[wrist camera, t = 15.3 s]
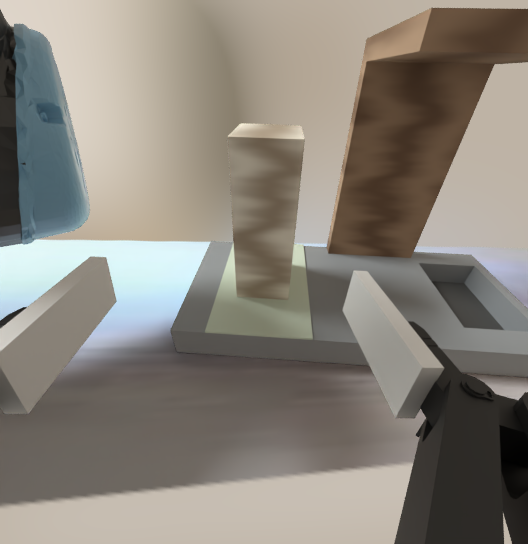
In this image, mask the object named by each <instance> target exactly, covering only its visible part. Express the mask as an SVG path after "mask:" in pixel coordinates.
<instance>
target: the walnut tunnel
mask: <svg viewBox="0 0 528 544" xmlns="http://www.w3.org/2000/svg"><path fill="white" fill-rule="evenodd" d="M522 62H528V9H479V8H478V9H477V8H431V9H429V10H426V11H424V12H422V13H420V14H418V15H416V16H414V17H412V18H410V19H407V20H405V21H403V22H401V23H399V24H397V25H395V26H393V27H391V28H389V29H387V30H384V31H382V32H380V33H378V34H376V35H374V36H372V37H370V38H368V39H367V40H366V46H365V51H364V56H363V61H362V66H361V71H360V77H359V82H358V87H357V92H356V97H355V103H354V108H353V113H352V118H351V123H350V129H349V134H348V139H347V144H346V150H345V155H344V160H343V165H342V170H341V176H340V181H339V186H338V191H337V197H336V202H335V207H334V213H333V217H332V223H331V228H330V233H329V238H328V243H327V251H328V254H345V255H363V256H382V257H401V258H411V256H412V254H413V252H414V249H415V247H416V245H417V243H418V240H419V238H420V236H421V233H422V231H423V229H424V226H425V224H426V222H427V219H428V217H429V215H430V212H431V210H432V208H433V205H434V203H435V201H436V198H437V196H438V194H439V192H440V189H441V187H442V185H443V182H444V180H445V177H446V175H447V173H448V171H449V168H450V166H451V164H452V161H453V159H454V157H455V154H456V152H457V150H458V147H459V145H460V143H461V141H462V138H463V136H464V134H465V131H466V129H467V127H468V124H469V122H470V120H471V117H472V115H473V113H474V110H475V108H476V106H477V103H478V101H479V99H480V96H481V94H482V92H483V90H484V87H485V85H486V82H487V80H488V78H489V76H490V73H491V71H492V68H493V66H494V64H505V63H522Z"/></svg>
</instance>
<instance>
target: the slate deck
mask: <svg viewBox="0 0 528 544" xmlns="http://www.w3.org/2000/svg"><path fill="white" fill-rule="evenodd" d="M354 270H355V271H367V272H368V273H369V274H370V275H371V277H372V278H373V279H374V280H375V282H376V283H377V284H378V285H379V287H380V288H381V289H382V290H383V292H384V293H385V294H386V295H387V297H388V298H389V299H390V300H391V302H392V303H393V304H394V305H395V307H396V308H397V309H398V310H399V312H400V313H401V314H402V316H403V317H404V318H405V319H406V321H414V322H415V323H416V324H418V325H419V326H420V327H422V328H423V329H425V331H426V332H427V333H428V334H429V335H430V337H431V338H432V340H434V341H435V342H436V344H437V345H438V347H440V348H441V349H442V351H443V352H444V353H445V354H446V355H447V357H448V358H449V359H450V360H451V361H452V362H453V364H454V365H455V366H456V367H457V368H458V369H459V371H460V372H462V373H476V374H490V375H504V376H517V377H528V309H527V308H526V307H525V306H524V305H523V304H522V303H521V302H520V301H519V300H518V299H517V298H516V297H515V296H514V295H513V294H512V293H511V292H509V291H508V290H507V289H506V288H505V287H504V286H503V285H502V284H501V283H500V282H499V281H498V280H497V279H496V278H495V277H494V276H493V275H492V274H491V273H490V272H489V271H488V270H487V269H486V268H485V267H484V266H482V265H481V264H480V263H479V262H478V261H477V260H476V259H475V258H474V257H473V256H472V255H464V254H445V253H426V252H413V254H412V256H411V258H401V257H382V256H363V255H345V254H328V251H327V247H312V246H304V245H299V244H294V249H293V259H292V268H291V278H290V288H289V297H288V300H281V299H265V298H249V297H237V292H236V275H235V258H234V242H217V241H211V243H210V245H209V247H208V249H207V251H206V254H205V256H204V258H203V260H202V262H201V265H200V267H199V269H198V271H197V273H196V275H195V278H194V280H193V282H192V284H191V286H190V289H189V291H188V293H187V295H186V297H185V299H184V302H183V304H182V306H181V308H180V310H179V312H178V315H177V317H176V319H175V321H174V323H173V326H172V328H171V330H170V331H171V334H172V338H173V341H174V344H175V348H176V351H177V352H184V353H198V354H211V355H225V356H239V357H253V358H267V359H281V360H295V361H309V362H323V363H337V364H351V365H364V366H369V364H368V361H367V359H366V357H365V355H364V353H363V351H362V349H361V347H360V345H359V343H358V341H357V339H356V337H355V335H354V333H353V331H352V329H351V327H350V325H349V323H348V321H347V319H346V317H345V315H344V313H343V311H342V310H343V307H344V303H345V300H346V296H347V293H348V289H349V285H350V282H351V278H352V275H353V271H354Z"/></svg>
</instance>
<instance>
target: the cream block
mask: <svg viewBox="0 0 528 544" xmlns="http://www.w3.org/2000/svg"><path fill="white" fill-rule="evenodd" d="M304 142H305V138H304V135H303V131H302V128H301V126H300V125H272V124H240V125H239V126H238V127H237V128H236V129H235V130H234V131H233V132H232V133H231V134H230V135H229V136H228V155H229V172H230V190H231V207H232V224H233V241H234V258H235V275H236V292H237V297H249V298H265V299H281V300H288V297H289V288H290V278H291V268H292V259H293V249H294V239H295V229H296V220H297V210H298V200H299V191H300V181H301V171H302V161H303V152H304Z"/></svg>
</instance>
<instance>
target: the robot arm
mask: <svg viewBox="0 0 528 544" xmlns="http://www.w3.org/2000/svg"><path fill="white" fill-rule="evenodd" d="M89 212H90V205H89V198H88V192H87V187H86V182H85V178H84V173H83V168H82V163H81V159H80V155H79V151H78V146H77V142H76V138H75V134H74V130H73V125H72V121H71V117H70V113H69V109H68V105H67V101H66V97H65V94H64V90H63V86H62V82H61V78H60V75H59V72H58V68H57V65H56V63H55V60H54V57H53V53H52V48H51V45H50V43H49V41H48V40H47V38H46V37H45V36H44V35H43V34H41V33H40V32H37V31H35V30H31V29H29V28H27V27H26V26H25V25H24V24H14V27H11V26H10V25H9V24H8V22H7V21H6V20H5V18H4V16H3V14H2V12H1V10H0V247H3V246H9V245H15V244H21V243H22V244H28V243H32V242H33V241H34V240H35V239H39V238H44V237H48V236H53V235H57V234H61V233H66V232H70V231H74V230H75V229H77V228H79V227H81V226H82V225H83V224H84V223H85V221H86V220H87V219H88V216H89ZM115 303H116V297H115V293H114V288H113V284H112V280H111V276H110V272H109V267H108V263H107V259H106V257H90V258H88V259H87V260H86V261H85V262H83V263H82V264H81V265H80V266H78V267H77V268H76V269H75V270H73V271H72V272H71V273H70V274H68V275H67V276H66V277H65V278H63V279H62V280H61V281H59V282H58V283H57V284H56V285H54V286H53V287H52V288H51V289H49V290H48V291H47V292H46V293H44V294H43V295H42V296H41V297H39V298H38V299H37V300H36V301H34V302H33V303H32V304H31V305H29V306H28V307H23V308H21V309H19V310H17V311H15V312H13V313H11V314H9V315H7V316H6V317H5V318H3V319H2V320H1V321H0V408H1V410H2V411H3V413H4V414H29V413H30V411H31V410H32V409H33V407H34V406H35V405H36V404H37V402H38V401H39V400H40V398H41V397H42V396H43V395H44V393H45V392H46V391H47V390H48V388H49V387H50V386H51V384H52V383H53V382H54V381H55V379H56V378H57V377H58V375H59V374H60V373H61V372H62V370H63V369H64V368H65V367H66V365H67V364H68V363H69V361H70V360H71V359H72V358H73V356H74V355H75V354H76V352H77V351H78V350H79V349H80V347H81V346H82V345H83V344H84V342H85V341H86V340H87V338H88V337H89V336H90V335H91V333H92V332H93V331H94V329H95V328H96V327H97V326H98V324H99V323H100V322H101V321H102V319H103V318H104V317H105V315H106V314H107V313H108V312H109V310H110V309H111V308H112V306H113V305H114V304H115ZM342 311H343V313H344V315H345V317H346V319H347V321H348V323H349V325H350V327H351V329H352V331H353V333H354V335H355V337H356V339H357V341H358V343H359V345H360V347H361V349H362V351H363V353H364V355H365V357H366V359H367V361H368V364H369V366H370V368H371V370H372V372H373V374H374V376H375V378H376V380H377V382H378V384H379V386H380V388H381V390H382V392H383V394H384V396H385V398H386V400H387V402H388V404H389V406H390V408H391V410H392V412H393V414H394V417H395V418H415V417H416V415H417V413H418V412H419V410H420V408H421V410H422V411H423V413H424V415H425V416H426V419H425V421H424V423H423V424H422V426H421V427H420V429H419V431H418V432H417V434H416V436H417V437H419V436H420V438H419V442H418V447H417V451H416V455H415V459H414V463H413V468H412V472H411V476H410V481H409V485H408V489H407V493H406V497H405V501H404V506H403V510H402V514H401V518H400V523H399V526H398V531H397V535H396V539H395V543H394V544H504V533H503V532H504V531H503V513H504V517H505V520H506V524H507V527H508V530H509V534H510V537H511V541H512V544H528V392H527V393H524V395H523V396H522V397H521V398H520V399H519V400H514V399H511V398H507V397H504V396H500V395H496V394H495V393H494V392H493V391H492V389H491V388H490V387H488V386H487V385H486V384H485V383H483V382H482V381H480V380H478V379H477V378H475V377H472V376H469V375H467V374H462V373H461V372H460V371H459V369H458V368H457V367H456V366H455V365H454V364H453V362H452V361H451V360H450V359H449V358H448V357H447V355H446V354H445V353H444V352H443V351H442V349H441V348H440V347H438V345H437V344H436V342H435V341H434V340H432V338H431V337H430V335H429V334H428V333H427V332H426V331H425V329H423V328H422V327H420V326H419V325H418V324H416V323H415V322H414V321H406V319H405V318H404V317H403V316H402V314H401V313H400V312H399V310H398V309H397V308H396V307H395V305H394V304H393V303H392V302H391V300H390V299H389V298H388V297H387V295H386V294H385V293H384V292H383V290H382V289H381V288H380V287H379V285H378V284H377V283H376V282H375V280H374V279H373V278H372V277H371V275H370V274H369V273H368V272H367V271H355V270H354V271H353V275H352V278H351V282H350V285H349V289H348V293H347V296H346V300H345V303H344V307H343V310H342Z"/></svg>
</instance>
